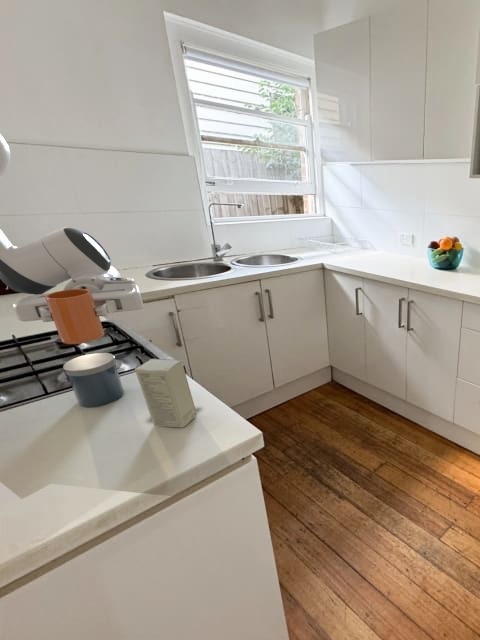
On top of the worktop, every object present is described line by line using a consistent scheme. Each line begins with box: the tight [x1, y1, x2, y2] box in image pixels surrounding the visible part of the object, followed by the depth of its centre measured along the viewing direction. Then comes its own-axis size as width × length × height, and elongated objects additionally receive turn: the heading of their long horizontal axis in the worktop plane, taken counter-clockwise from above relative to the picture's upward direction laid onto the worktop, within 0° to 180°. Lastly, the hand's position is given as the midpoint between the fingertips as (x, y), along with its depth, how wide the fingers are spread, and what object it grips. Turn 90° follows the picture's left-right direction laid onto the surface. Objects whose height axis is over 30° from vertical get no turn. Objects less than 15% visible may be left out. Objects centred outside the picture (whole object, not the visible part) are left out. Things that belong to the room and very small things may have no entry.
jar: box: [62, 352, 125, 408], centre depth 77 cm, size 8×8×8 cm
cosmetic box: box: [134, 358, 198, 428], centre depth 70 cm, size 6×4×12 cm
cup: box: [45, 289, 105, 345], centre depth 74 cm, size 7×7×9 cm
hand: (74, 315), depth 73 cm, fingers closed on cup, 7 cm apart
